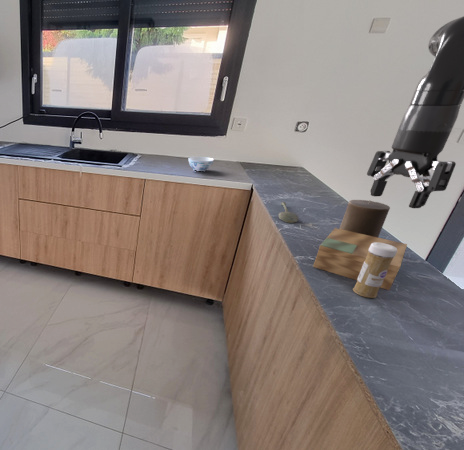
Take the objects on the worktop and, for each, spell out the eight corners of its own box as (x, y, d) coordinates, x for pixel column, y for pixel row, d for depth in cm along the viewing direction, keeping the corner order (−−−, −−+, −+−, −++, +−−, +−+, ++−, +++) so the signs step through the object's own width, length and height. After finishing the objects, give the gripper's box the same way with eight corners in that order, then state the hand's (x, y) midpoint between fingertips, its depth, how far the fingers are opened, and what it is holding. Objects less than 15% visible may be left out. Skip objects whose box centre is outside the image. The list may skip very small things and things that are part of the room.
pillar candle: (363, 252, 97) (381, 207, 91) (328, 239, 106) (343, 198, 100) (381, 246, 101) (399, 202, 95) (346, 234, 109) (361, 193, 103)
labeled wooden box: (397, 265, 89) (407, 243, 87) (389, 290, 79) (400, 266, 76) (328, 247, 101) (335, 227, 98) (312, 267, 90) (320, 245, 87)
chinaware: (187, 172, 196) (188, 160, 193) (186, 167, 209) (188, 156, 206) (213, 174, 191) (215, 161, 188) (210, 168, 204) (212, 157, 201)
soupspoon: (277, 222, 122) (297, 226, 119) (280, 215, 120) (300, 218, 117) (274, 204, 139) (292, 206, 136) (277, 197, 137) (294, 199, 134)
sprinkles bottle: (370, 300, 75) (392, 252, 70) (348, 291, 79) (367, 244, 74) (380, 295, 77) (402, 247, 72) (357, 286, 81) (376, 240, 76)
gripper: (486, 131, 58) (446, 211, 65) (405, 124, 71) (378, 191, 78) (448, 132, 58) (412, 213, 64) (374, 125, 71) (350, 193, 77)
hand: (393, 201), depth 71 cm, fingers open, 8 cm apart
